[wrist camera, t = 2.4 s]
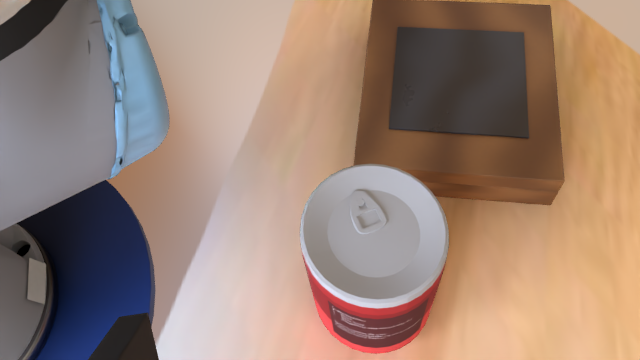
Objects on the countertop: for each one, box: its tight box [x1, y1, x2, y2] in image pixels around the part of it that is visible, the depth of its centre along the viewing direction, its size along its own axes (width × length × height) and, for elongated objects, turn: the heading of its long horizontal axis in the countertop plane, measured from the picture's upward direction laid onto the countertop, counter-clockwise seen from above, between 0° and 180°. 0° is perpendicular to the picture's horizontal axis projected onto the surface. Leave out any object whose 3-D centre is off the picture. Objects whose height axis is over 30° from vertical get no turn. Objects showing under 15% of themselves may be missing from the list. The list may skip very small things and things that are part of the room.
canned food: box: [300, 164, 449, 353], centre depth 35 cm, size 8×8×11 cm
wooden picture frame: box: [354, 0, 564, 205], centre depth 45 cm, size 14×16×4 cm
